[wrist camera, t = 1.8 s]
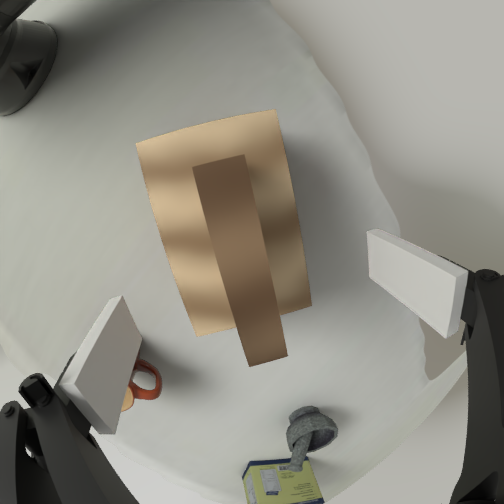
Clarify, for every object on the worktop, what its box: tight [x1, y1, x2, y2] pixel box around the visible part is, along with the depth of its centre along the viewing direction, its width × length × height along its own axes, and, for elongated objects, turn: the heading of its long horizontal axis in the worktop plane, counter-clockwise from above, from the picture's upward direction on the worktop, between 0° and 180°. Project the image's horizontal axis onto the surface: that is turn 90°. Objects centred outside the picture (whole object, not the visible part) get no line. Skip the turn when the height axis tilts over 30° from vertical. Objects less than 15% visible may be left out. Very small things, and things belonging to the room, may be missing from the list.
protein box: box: [242, 456, 325, 504], centre depth 46 cm, size 10×16×16 cm
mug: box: [121, 349, 162, 412], centre depth 31 cm, size 12×9×10 cm
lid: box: [136, 109, 312, 367], centre depth 20 cm, size 19×12×12 cm, turn 12°
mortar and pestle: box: [286, 406, 338, 472], centre depth 41 cm, size 11×9×12 cm
